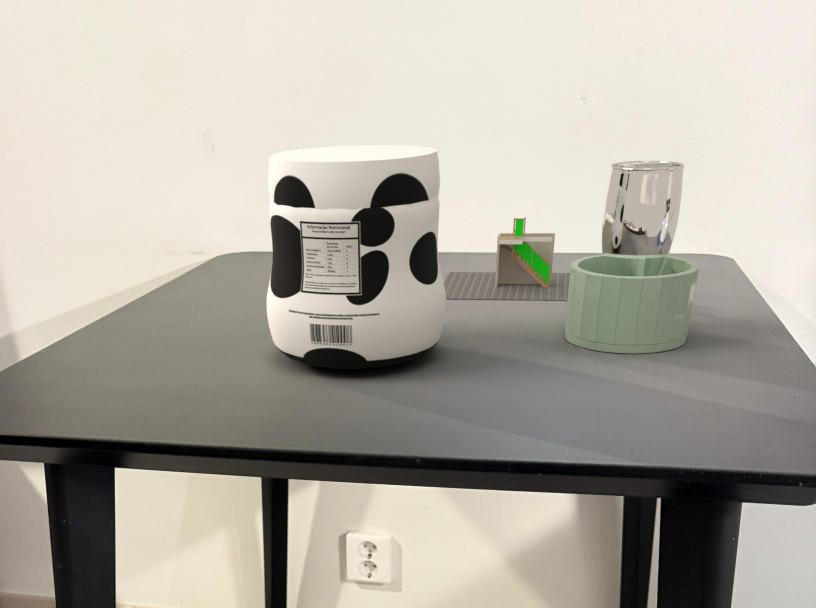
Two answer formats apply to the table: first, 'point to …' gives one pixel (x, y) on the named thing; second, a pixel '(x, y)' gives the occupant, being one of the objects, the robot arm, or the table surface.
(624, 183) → the beer glass
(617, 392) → the table surface
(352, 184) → the milk container
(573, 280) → the ceramic cup
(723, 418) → the table surface
